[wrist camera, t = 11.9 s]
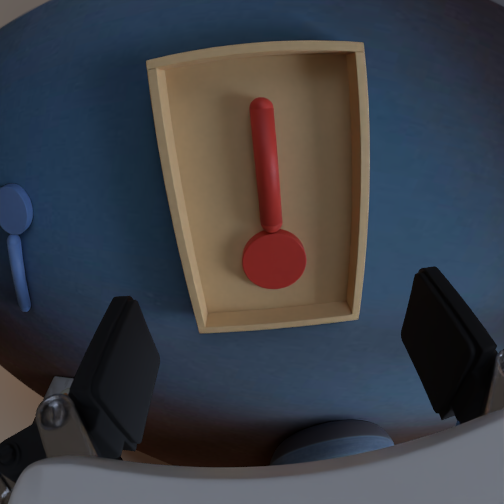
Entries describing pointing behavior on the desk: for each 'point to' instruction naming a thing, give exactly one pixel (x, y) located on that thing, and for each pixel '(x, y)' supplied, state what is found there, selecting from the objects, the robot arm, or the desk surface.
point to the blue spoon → (16, 235)
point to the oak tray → (244, 175)
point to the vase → (331, 442)
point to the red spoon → (270, 211)
